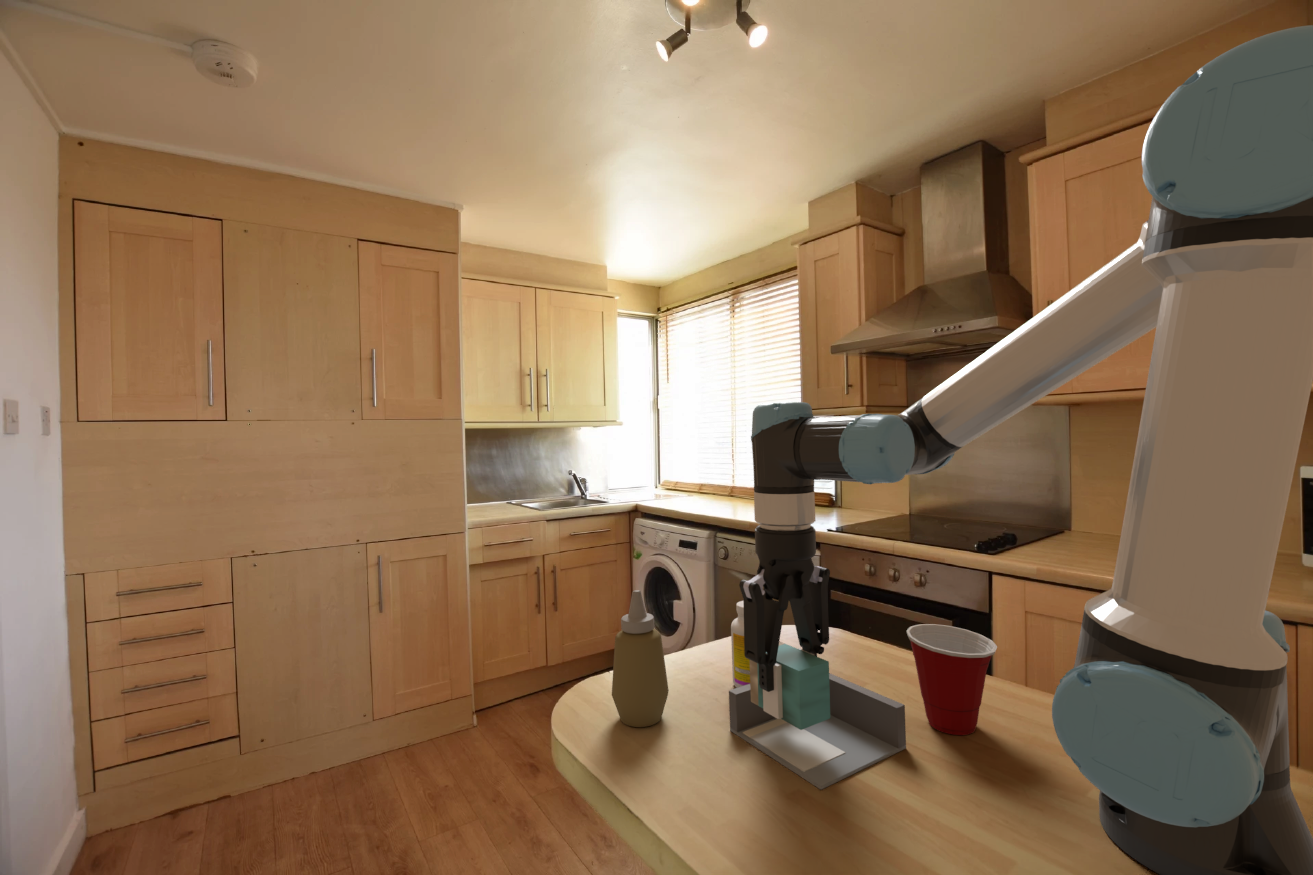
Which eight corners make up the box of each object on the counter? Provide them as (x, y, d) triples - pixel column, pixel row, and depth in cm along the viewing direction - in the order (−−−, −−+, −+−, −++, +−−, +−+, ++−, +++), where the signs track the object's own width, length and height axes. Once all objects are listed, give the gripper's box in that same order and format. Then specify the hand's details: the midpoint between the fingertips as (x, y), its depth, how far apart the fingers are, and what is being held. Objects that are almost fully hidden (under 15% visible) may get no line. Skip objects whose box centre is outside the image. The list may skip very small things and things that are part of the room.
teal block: (750, 701, 77) (749, 648, 77) (779, 691, 80) (777, 640, 80) (800, 729, 70) (799, 671, 70) (830, 718, 72) (828, 661, 72)
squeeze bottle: (638, 700, 89) (634, 581, 89) (681, 714, 84) (676, 588, 84) (600, 721, 83) (595, 593, 83) (644, 738, 78) (639, 602, 77)
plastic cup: (1004, 753, 71) (1001, 654, 71) (907, 736, 76) (904, 643, 76) (996, 713, 81) (993, 626, 81) (910, 701, 86) (908, 618, 86)
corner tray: (906, 748, 73) (904, 704, 73) (820, 789, 65) (819, 741, 65) (810, 700, 87) (808, 664, 87) (730, 730, 79) (728, 690, 79)
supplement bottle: (779, 693, 89) (776, 609, 89) (735, 695, 90) (732, 610, 90) (771, 675, 96) (768, 597, 96) (730, 677, 96) (728, 598, 96)
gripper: (813, 514, 82) (817, 680, 83) (709, 529, 73) (715, 715, 73) (856, 520, 76) (861, 700, 76) (749, 537, 67) (755, 742, 67)
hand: (789, 707), depth 75 cm, fingers closed on teal block, 5 cm apart
